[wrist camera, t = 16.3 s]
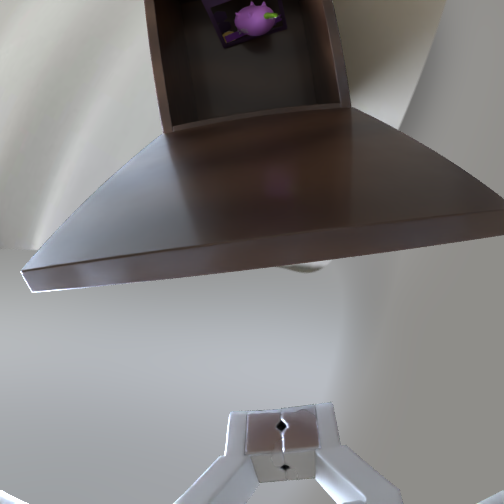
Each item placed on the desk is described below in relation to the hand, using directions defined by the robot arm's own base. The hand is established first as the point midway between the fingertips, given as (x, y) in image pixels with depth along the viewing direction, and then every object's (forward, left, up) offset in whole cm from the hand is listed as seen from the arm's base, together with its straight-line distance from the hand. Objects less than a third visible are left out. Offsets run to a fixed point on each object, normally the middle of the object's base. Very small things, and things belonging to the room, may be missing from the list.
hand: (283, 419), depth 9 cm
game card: (-4, -18, -22) cm, 29 cm away
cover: (0, -7, -8) cm, 11 cm away
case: (0, -16, -28) cm, 32 cm away
